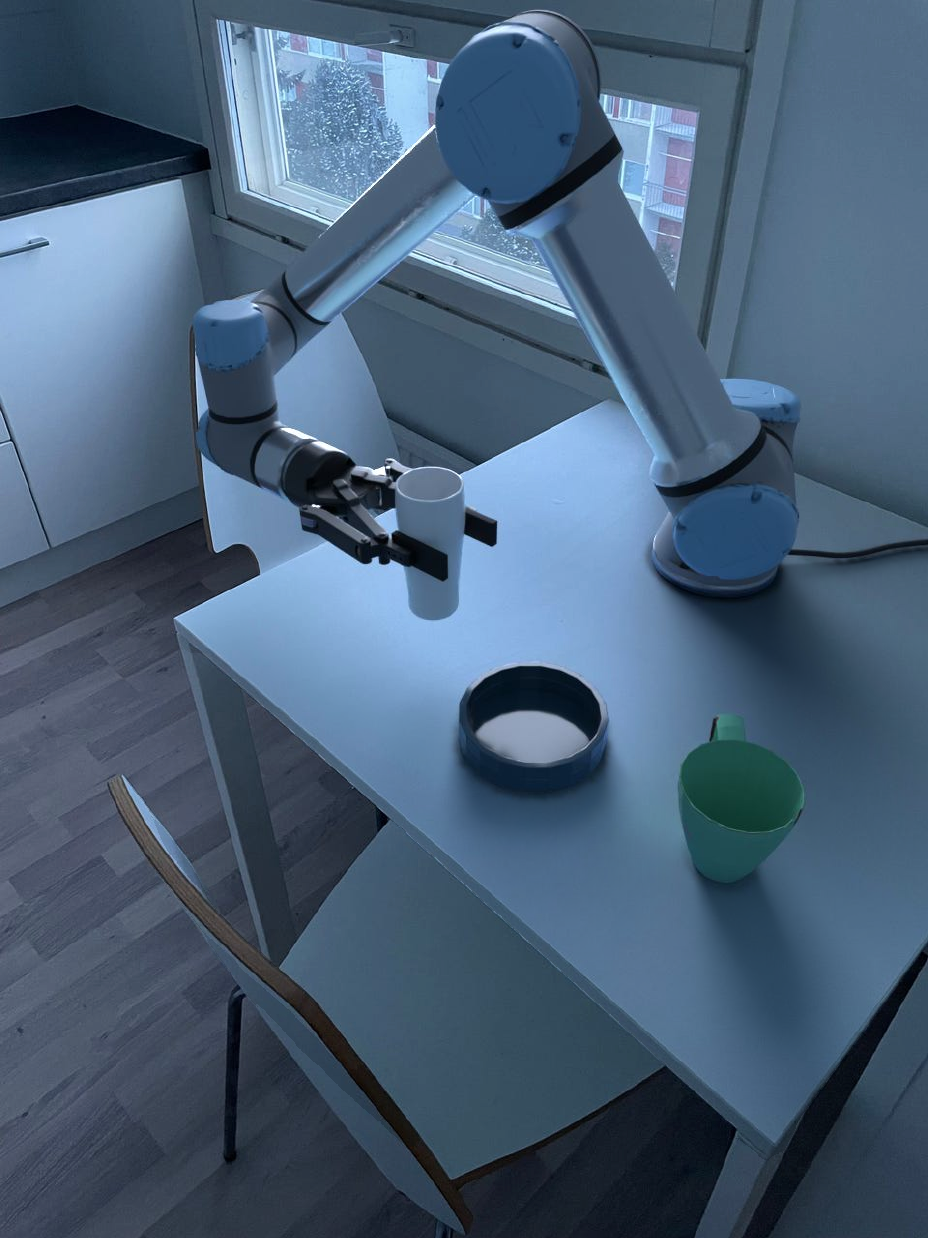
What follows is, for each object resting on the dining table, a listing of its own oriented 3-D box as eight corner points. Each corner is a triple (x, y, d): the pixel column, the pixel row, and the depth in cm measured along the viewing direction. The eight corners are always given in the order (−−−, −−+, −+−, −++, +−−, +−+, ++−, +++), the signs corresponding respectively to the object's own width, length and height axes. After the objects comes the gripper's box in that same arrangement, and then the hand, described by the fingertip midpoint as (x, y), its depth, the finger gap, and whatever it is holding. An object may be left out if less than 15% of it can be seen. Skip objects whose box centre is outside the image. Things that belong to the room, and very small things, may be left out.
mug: (786, 915, 73) (815, 839, 67) (665, 902, 74) (682, 827, 68) (763, 778, 84) (786, 703, 78) (658, 769, 85) (672, 694, 79)
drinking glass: (443, 635, 90) (439, 510, 81) (388, 613, 93) (379, 489, 84) (477, 600, 95) (478, 477, 85) (425, 580, 98) (420, 459, 88)
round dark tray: (597, 687, 94) (600, 661, 92) (612, 793, 83) (616, 768, 81) (461, 686, 95) (460, 661, 92) (458, 793, 83) (457, 767, 81)
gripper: (373, 468, 105) (530, 538, 94) (242, 541, 93) (402, 631, 82) (368, 410, 100) (533, 476, 89) (229, 479, 89) (398, 565, 77)
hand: (470, 550), depth 85 cm, fingers closed on drinking glass, 7 cm apart
